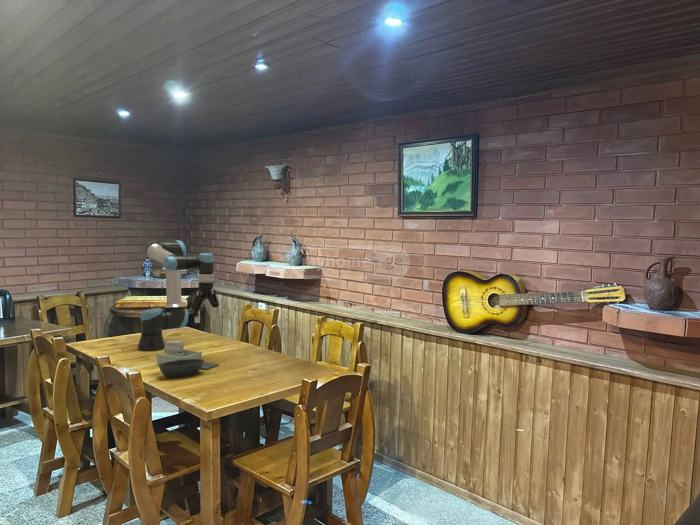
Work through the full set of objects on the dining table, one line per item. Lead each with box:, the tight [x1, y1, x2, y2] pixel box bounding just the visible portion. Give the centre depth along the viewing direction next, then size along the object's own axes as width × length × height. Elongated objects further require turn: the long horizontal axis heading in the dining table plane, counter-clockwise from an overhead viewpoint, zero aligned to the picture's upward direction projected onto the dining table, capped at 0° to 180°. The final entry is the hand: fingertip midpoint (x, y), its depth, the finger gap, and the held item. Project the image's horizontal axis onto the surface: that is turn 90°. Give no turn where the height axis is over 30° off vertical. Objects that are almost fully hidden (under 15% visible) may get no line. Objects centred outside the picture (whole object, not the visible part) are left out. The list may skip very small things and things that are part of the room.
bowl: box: [157, 358, 205, 379], centre depth 243 cm, size 12×22×6 cm, turn 128°
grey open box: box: [156, 349, 203, 366], centre depth 262 cm, size 17×14×6 cm
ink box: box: [164, 340, 185, 357], centre depth 264 cm, size 8×5×12 cm, turn 84°
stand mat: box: [200, 361, 220, 371], centre depth 259 cm, size 10×10×1 cm
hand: (205, 320), depth 270 cm, fingers open, 13 cm apart
